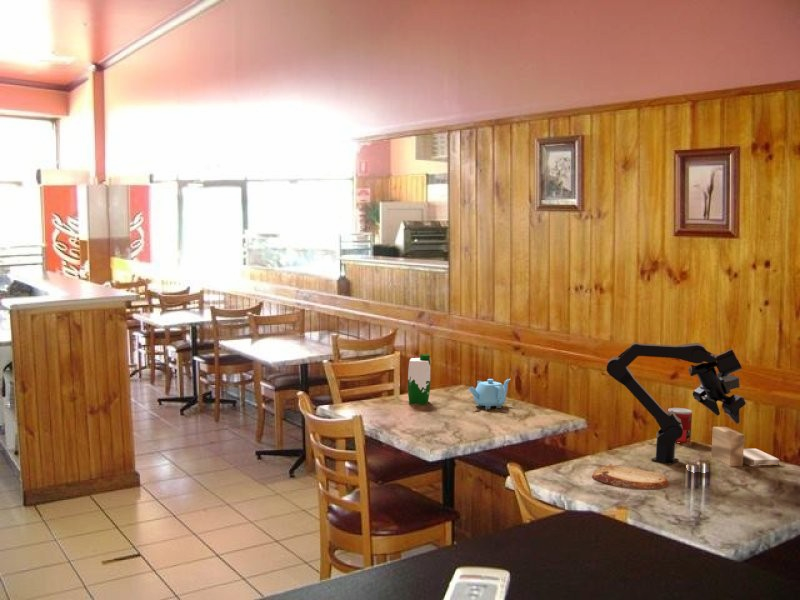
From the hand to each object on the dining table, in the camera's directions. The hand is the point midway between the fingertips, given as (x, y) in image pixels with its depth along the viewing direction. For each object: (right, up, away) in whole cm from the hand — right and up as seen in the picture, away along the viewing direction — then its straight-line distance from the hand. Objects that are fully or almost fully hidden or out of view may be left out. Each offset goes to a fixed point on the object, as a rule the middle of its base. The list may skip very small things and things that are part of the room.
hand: (728, 418), depth 276 cm
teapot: (-69, -6, +76) cm, 103 cm away
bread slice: (-37, -16, -22) cm, 46 cm away
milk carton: (-97, -5, +80) cm, 126 cm away
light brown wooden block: (0, -14, +2) cm, 14 cm away
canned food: (-7, -12, +26) cm, 30 cm away
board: (+9, -14, +3) cm, 17 cm away
